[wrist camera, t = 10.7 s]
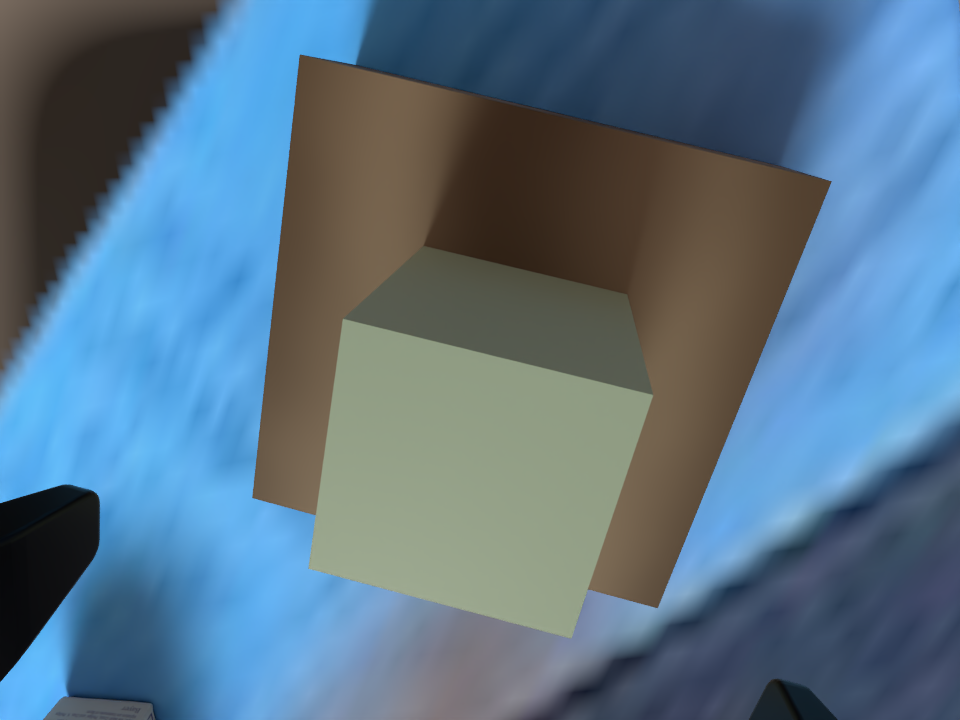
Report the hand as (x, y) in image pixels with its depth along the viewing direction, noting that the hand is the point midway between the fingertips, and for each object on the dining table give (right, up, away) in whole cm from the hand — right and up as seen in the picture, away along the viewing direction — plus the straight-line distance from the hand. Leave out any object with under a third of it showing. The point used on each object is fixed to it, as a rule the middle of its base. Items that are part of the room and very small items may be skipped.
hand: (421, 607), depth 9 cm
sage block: (+1, +3, +8) cm, 9 cm away
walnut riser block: (+2, +4, +12) cm, 13 cm away
